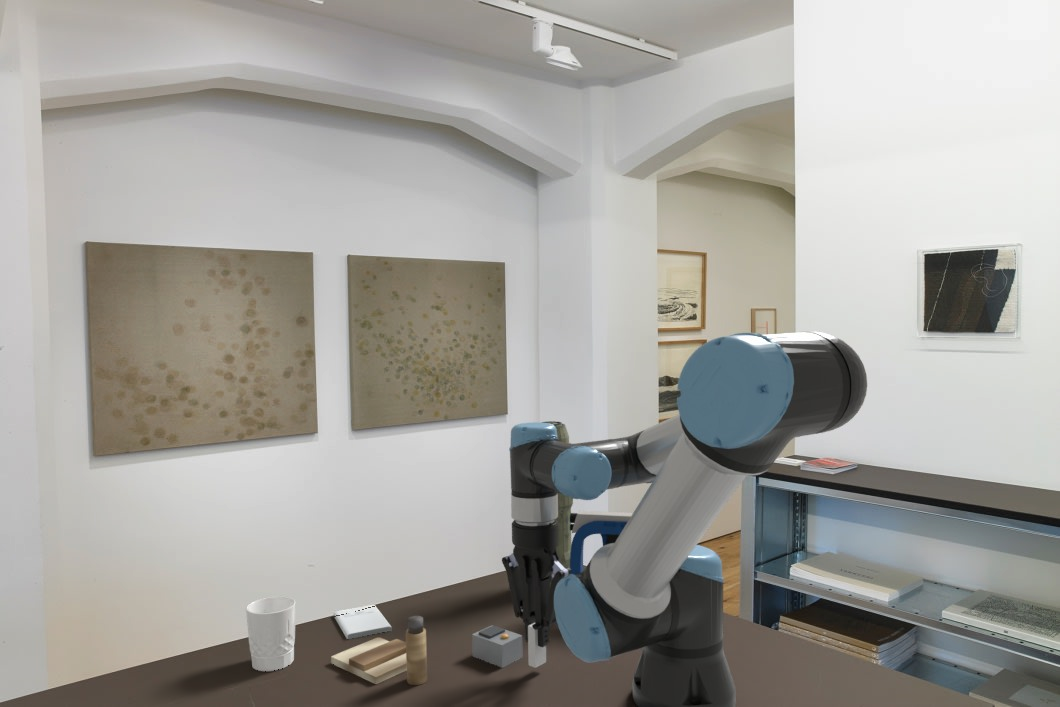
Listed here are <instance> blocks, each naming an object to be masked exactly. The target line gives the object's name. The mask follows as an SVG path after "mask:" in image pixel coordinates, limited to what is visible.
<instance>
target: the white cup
mask: <svg viewBox="0 0 1060 707" xmlns="http://www.w3.org/2000/svg"><path fill="white" fill-rule="evenodd" d="M245 612H246V623H247V624H246V625H247V635H248V645H249V652H250V655H251V665H252V669H254V670H256V671H257V670H258V672H265V671H266V672H275V671H279V670H283V669H285V668H286V667H289V666H291V664H292V663H293V662H294V661H295V646H294V645H295V643H296V642H295V641H296V640H295V639H296V600H295V599H294V598H292V597H288V596H269V597H264V598H260V599H257V600H254V601H253V602H250V603H249V604H247V606H246V608H245ZM288 665H289V666H288ZM282 668H283V669H282ZM278 669H279V670H278ZM274 670H275V671H274Z"/></svg>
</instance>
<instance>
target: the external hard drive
mask: <svg viewBox="0 0 1060 707" xmlns="http://www.w3.org/2000/svg"><path fill="white" fill-rule="evenodd" d="M372 606H375V607H372ZM368 607H371V608H368ZM365 608H367V609H365ZM362 609H364V610H362ZM358 610H360V611H358ZM355 611H356V612H355ZM346 613H347V614H346ZM341 614H344V615H341ZM336 615H340V616H336ZM334 616H336V617H334ZM333 617H334V619H335V621H336V623H337V624H338V626H339V627H340V629H341V632H343V635H344V636H345V639H346V640H347V639H349V640H353V639H352V638H354V639H358V637H359V638H363V637H362V636H364V637H368V636H367V635H369V636H373V635H372V634H375V635H378V634H377V633H380V634H383V633H382V632H385V633H388V632H387V631H390V632H392V631H393V630H392V626H391V623H390V622H388V620H387V619H386V618H385V616H384V615H383V614H382V612H381V611H380V610H379V609H378V607H377V606H376V605H375V604H369V605H364V606H358V607H353V608H347V609H342V610H341V609H340V610H335V611H334V612H333Z"/></svg>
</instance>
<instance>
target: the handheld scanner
mask: <svg viewBox="0 0 1060 707" xmlns="http://www.w3.org/2000/svg"><path fill="white" fill-rule="evenodd" d="M633 513H634V512H620V511H619V512H618V511H617V512H615V511H597V510H596V511H593V510H578V512H571V513H570V523H571V524H570V531H571V534H574V533H575V534H574V535H573V538H572V539H571V552H570V569H571V574H574V575H576V574H579V573H581V572H583V571H584V544H585V539H587V538H588V537H590V536H593V535H600V537H601V540H602V541H601V542H602V547H603V546H605V545H607V544H611V543H615V542H616V540H617V538H618V537H619V535H620V534H621V532H622V530H623V529H624V527H625V526H626V524H627V522H628V521H629V519H630V517H631V516H632V514H633Z"/></svg>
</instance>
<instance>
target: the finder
mask: <svg viewBox="0 0 1060 707" xmlns="http://www.w3.org/2000/svg"><path fill="white" fill-rule="evenodd" d="M471 650H472V651H471V654H472V657H473V658H476V659H478V658H479V659H478V660H480V659H481V661H483V660H484V661H483V662H486V663H488V662H489V664H492V665H493V664H494V666H496V665H497V667H499V668H502V669H503V668H506V667H507V666H509V665H511V664H514V663H515V662H517V661H519V660H521V659H523V654H524V653H523V651H524V650H523V634H520V633H517V632H514V631H511V630H507V629H506V628H505V629H504V628H503V627H499V626H496V625H493V624H492V625H489V626H488V627H487V626H486V627H485V628H483V629H481V630H479V631H476V632H474V633H472V634H471ZM520 658H521V659H520ZM514 661H515V662H514Z"/></svg>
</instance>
